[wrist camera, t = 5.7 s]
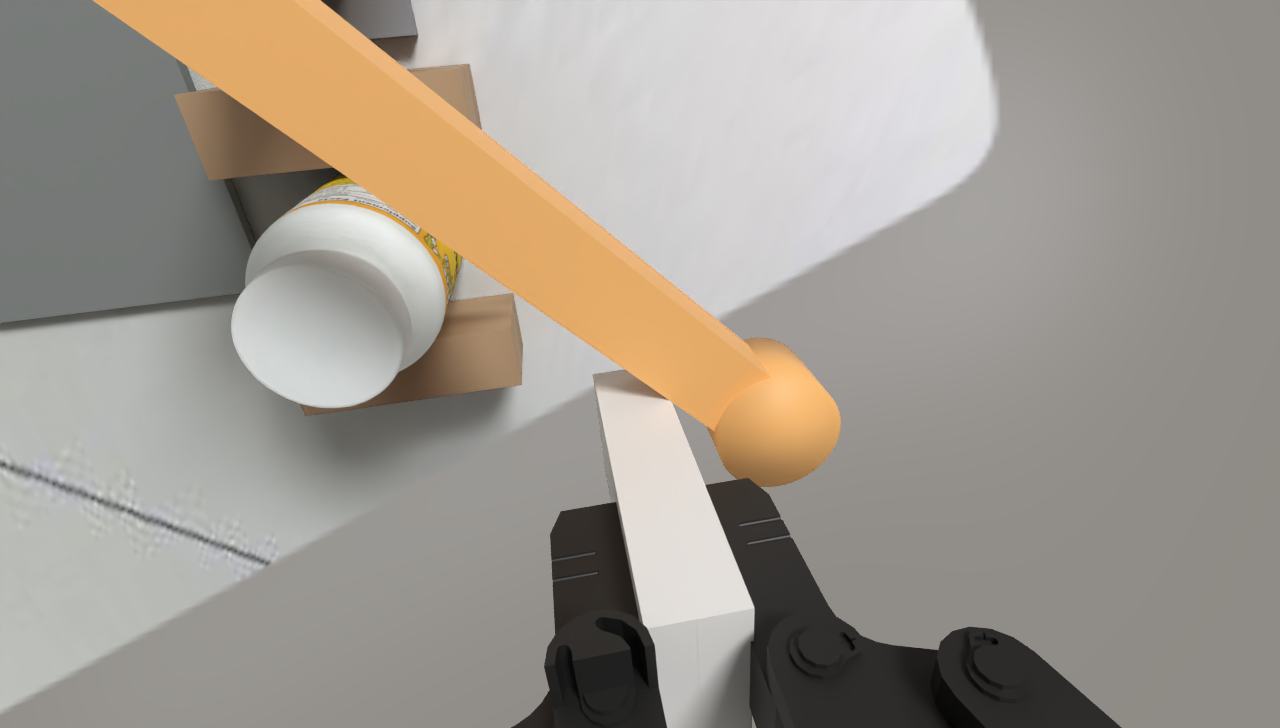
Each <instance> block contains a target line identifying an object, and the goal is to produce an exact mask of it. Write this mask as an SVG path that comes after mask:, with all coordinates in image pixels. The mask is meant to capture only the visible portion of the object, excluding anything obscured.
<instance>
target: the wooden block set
mask: <svg viewBox="0 0 1280 728" xmlns="http://www.w3.org/2000/svg"><path fill="white" fill-rule="evenodd" d="M321 1H322V2H323V3H324V4H326V5H327V6H328V7H329V8H331V9H332V10H333V11H334V12H336V13H337V14H338V15H339V16H341V17H342V18H343V19H344V20H346V21H347V22H348V23H349V24H350V25H352V26H353V27H354V28H355V29H357V30H358V31H359V32H360V33H362V34H363V35H364V36H365V37H367V38H368V39H377V38H389V37H401V36H412V35H418V33H417V28H416V24H415V19H414V15H413V10H412V6H411V1H410V0H321ZM407 70H408V71H409V72H410V73H411V74H413V75H414V76H415V77H416V78H418V79H419V80H420V81H421V82H423V83H424V84H425V85H426V86H427V87H429V88H430V89H431V90H432V91H434V92H435V93H436V94H437V95H439V96H440V97H441V98H442V99H444V100H445V101H446V102H447V103H449V104H450V105H451V106H452V107H454V108H455V109H456V110H457V111H459V112H460V113H461V114H462V115H463V116H465V117H466V118H467V119H468V120H470V121H471V122H472V123H473V124H475V125H476V126H477V127H478V128H480V129H481V130H482V128H481V122H480V117H479V112H478V107H477V101H476V96H475V91H474V86H473V80H472V75H471V70H470V65H469V64H462V65H451V66H440V67H429V68H418V69H407ZM174 96H175V99H176V101H177V104H178V106H179V109H180V111H181V114H182V116H183V118H184V121H185V123H186V126H187V128H188V131H189V133H190V136H191V138H192V140H193V143H194V145H195V148H196V150H197V153H198V155H199V157H200V160H201V162H202V165H203V167H204V170H205V172H206V175H207V177H208V179H209V181H210V180H219V179H229V178H238V177H248V176H257V175H267V174H276V173H286V172H295V171H305V170H314V169H324V168H333V167H332V166H331V165H329V164H328V163H326V162H325V161H323V160H322V159H321V158H319V157H318V156H316V155H315V154H313V153H312V152H310V151H309V150H308V149H306V148H305V147H303V146H302V145H300V144H299V143H297V142H296V141H295V140H293V139H292V138H290V137H289V136H287V135H286V134H284V133H283V132H282V131H280V130H279V129H277V128H276V127H274V126H273V125H271V124H270V123H269V122H267V121H266V120H264V119H263V118H261V117H260V116H259V115H257V114H256V113H254V112H253V111H251V110H250V109H248V108H247V107H246V106H244V105H243V104H241V103H240V102H238V101H237V100H235V99H234V98H233V97H231V96H230V95H228V94H227V93H225V92H224V91H222V90H221V89H220V88H218V87H217V88H211V89H205V90H199V91H193V92H187V93H181V94H175V95H174ZM522 353H523V344H522V338H521V333H520V328H519V323H518V317H517V312H516V307H515V301H514V296H513V294H505V295H498V296H490V297H482V298H474V299H467V300H459V301H451V302H449V303H448V307H447V310H446V314H445V317H444V321H443V324H442V327H441V330H440V332H439V334H438V335H437V337H436V339H435V341H434V342H433V344H432V345H431V346H430V348H429V349H428V350H427V351H426V352H425V353H424V354H423V356H422V357H420V358H419V359H418V360H417V361H416V362H415V363H413V364H412V365H410V366H409V367H407V368H405V369H403V370H401V371H399V372H398V373H397V375H396V377H395V378H394V380H393V381H392V382H391V383H390V385H389V386H388V387H387V388H386V389H384V390H383V391H382V392H381V393H380V394H378V395H377V396H375V397H373V398H372V399H370V400H368V401H366V402H363V403H360V404H357V405H354V406H350V407H343V408H319V407H312V406H308V405H303V404H301V406H302V409H303V411H304V414H305V416H309V415H316V414H323V413H330V412H337V411H344V410H351V409H358V408H365V407H372V406H378V405H385V404H392V403H399V402H406V401H413V400H420V399H427V398H434V397H441V396H448V395H455V394H462V393H469V392H476V391H483V390H490V389H497V388H504V387H511V386H518V385H522Z"/></svg>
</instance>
